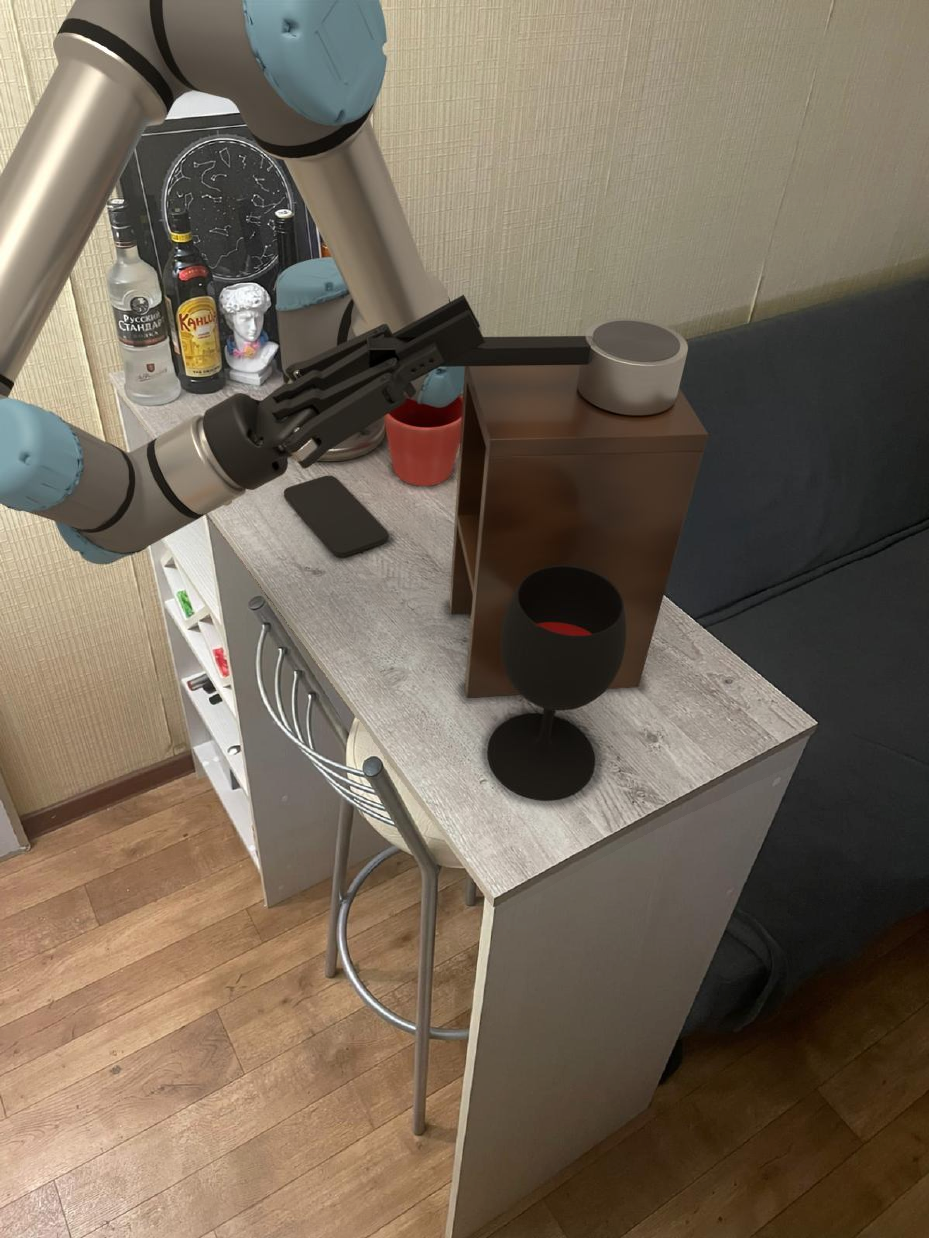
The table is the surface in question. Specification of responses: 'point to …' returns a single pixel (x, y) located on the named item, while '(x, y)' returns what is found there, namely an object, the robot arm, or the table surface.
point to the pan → (587, 361)
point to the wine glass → (556, 677)
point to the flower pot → (424, 440)
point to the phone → (336, 516)
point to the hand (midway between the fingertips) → (473, 318)
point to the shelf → (564, 503)
